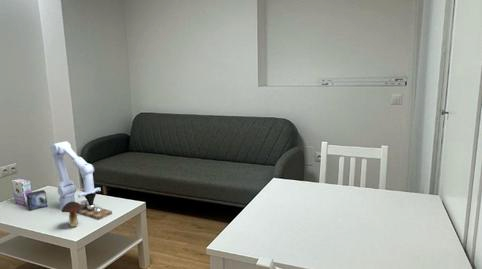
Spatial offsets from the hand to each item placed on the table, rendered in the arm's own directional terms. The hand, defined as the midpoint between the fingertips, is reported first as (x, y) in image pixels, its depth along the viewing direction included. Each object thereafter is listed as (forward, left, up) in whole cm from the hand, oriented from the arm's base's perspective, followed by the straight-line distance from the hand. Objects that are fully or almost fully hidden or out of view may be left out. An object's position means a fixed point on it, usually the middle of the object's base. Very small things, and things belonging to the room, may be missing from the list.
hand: (91, 205), depth 220 cm
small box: (-42, -11, -6) cm, 43 cm away
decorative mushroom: (+8, -18, -6) cm, 20 cm away
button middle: (0, 0, -4) cm, 4 cm away
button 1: (-7, 0, -3) cm, 7 cm away
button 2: (+6, 0, -5) cm, 8 cm away
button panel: (0, 0, -5) cm, 5 cm away
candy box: (-59, -11, -6) cm, 60 cm away
